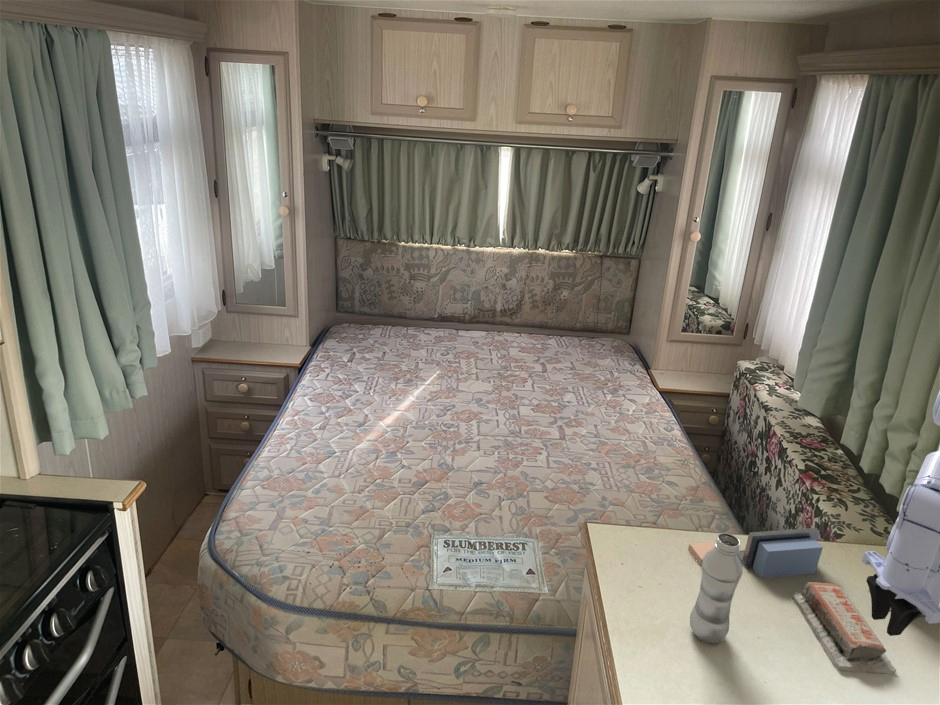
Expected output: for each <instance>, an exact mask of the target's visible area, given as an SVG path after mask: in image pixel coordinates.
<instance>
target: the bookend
mask: <svg viewBox="0 0 940 705" xmlns="http://www.w3.org/2000/svg"><path fill="white" fill-rule="evenodd" d="M820 532H821V531H820V530H819V529H818V528H817V527H810V528H809V527H806V528H795V529H781V530H780V529H779V530H778V529H777V530H767V531H755V532H754V531H751V532H749V533H748V536H747V540H746V545H745V547H744V549H743V550H739V553H738V554H737V556H738V557H739V559H740V562H741V564H742V567H744V568H751V567H752V568H753V565H754V561H755V557H756V553H757V549H758V545H759V542H765V541H778V540H792V539H805V538H814V539H815V540H816V541H817V542H818V539H819V536H820Z"/></svg>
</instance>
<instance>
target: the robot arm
mask: <svg viewBox="0 0 940 705" xmlns="http://www.w3.org/2000/svg"><path fill="white" fill-rule="evenodd" d="M932 419H933V423H934V424H935V425H937V426H938V427H940V390H939V391H938V394H937V395H936V399H935V401H934V404H933V408H932ZM884 548H885V551H886V553H887V556H886V558H885V557H884V556H882V554H879V553H878V552H877V551H876V550H870V551H864V552H863V555H862V559H861V562H862V563H863V564H864V565H869V566H870V567H872V569H873V571H874V572H875V574H873V575H868V576H867V577H866V579H865V580H866V583H867V586H868V590H869V593H870V599H871V602H870V603H871V618H872V620H874V621H879V620H886V618H887V617H888V615H889V613H890V617H889V621H888V623H887V627H886V628H887V629H886V634H887V635H888V636H890V637H892V636H900V635H902V633H903V632H904V631H905V630H906V629H907V627H908V626H909V625H910V624H911V623H912V622H914V621H915V620H916V619H918V618H919V617H921V616H924V620H925V621H926V622H927V623H928V624H939V623H940V606H939V605H940V445H939V446H938V450H937V451H933V452H930V453H928V454H927V455H926V456H925V459H924V460H923V462H922V465H921V467H920V470H919V472H918V474H917V476H916V478H915V481H914V483H913V486H912V485H911V484H910V485H909V486H908V487H907V489H906V491H905V493H904V495H903V498H902V501H901V504H900V506H899V513H898V517H897V519H896V520H895V523H894V524H893V527H892V529H891V532H890V534H889V536H888V538H887V542H886V544H885V547H884Z"/></svg>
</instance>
